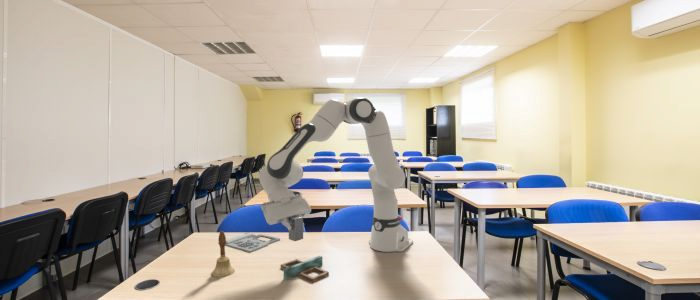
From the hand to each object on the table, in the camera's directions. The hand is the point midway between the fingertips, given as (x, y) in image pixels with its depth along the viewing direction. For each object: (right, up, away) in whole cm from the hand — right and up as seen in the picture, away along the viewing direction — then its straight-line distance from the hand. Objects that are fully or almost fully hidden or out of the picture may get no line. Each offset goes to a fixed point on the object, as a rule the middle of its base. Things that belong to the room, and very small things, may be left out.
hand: (296, 227), depth 126 cm
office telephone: (-28, -15, +32) cm, 46 cm away
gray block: (0, -5, +1) cm, 5 cm away
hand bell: (-28, -17, -3) cm, 32 cm away
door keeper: (+3, -16, -2) cm, 17 cm away
